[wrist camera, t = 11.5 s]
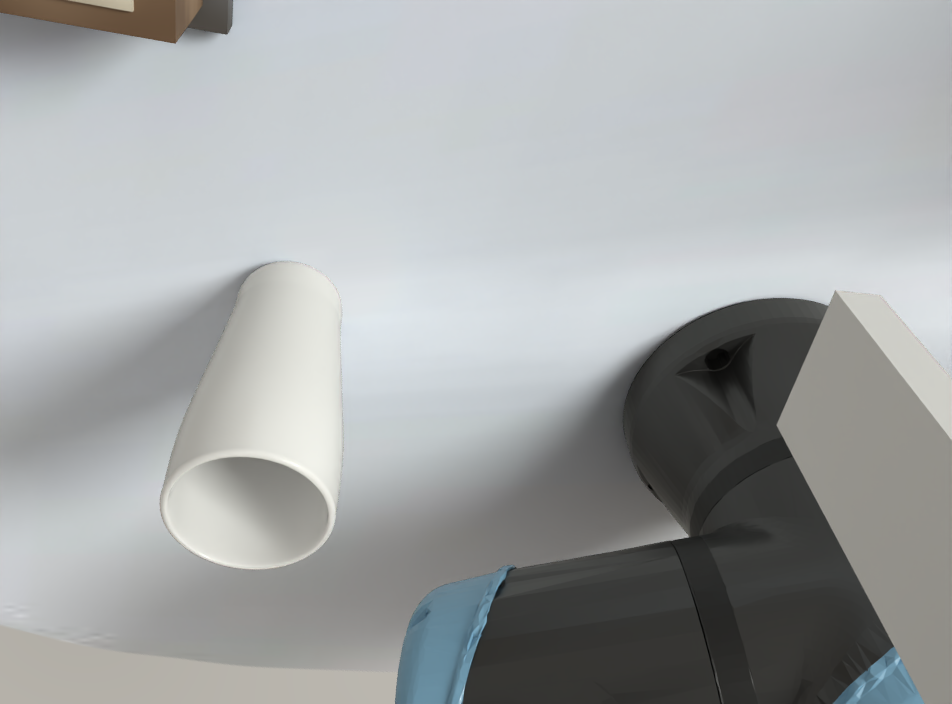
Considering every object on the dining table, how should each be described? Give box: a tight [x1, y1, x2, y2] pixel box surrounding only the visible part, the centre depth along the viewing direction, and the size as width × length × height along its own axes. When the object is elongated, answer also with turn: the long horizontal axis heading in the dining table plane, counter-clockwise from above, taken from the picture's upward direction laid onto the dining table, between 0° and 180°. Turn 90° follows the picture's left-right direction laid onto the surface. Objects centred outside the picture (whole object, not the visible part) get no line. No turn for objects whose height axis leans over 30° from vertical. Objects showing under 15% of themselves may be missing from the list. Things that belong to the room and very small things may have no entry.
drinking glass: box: [160, 261, 344, 570], centre depth 39 cm, size 7×7×15 cm
